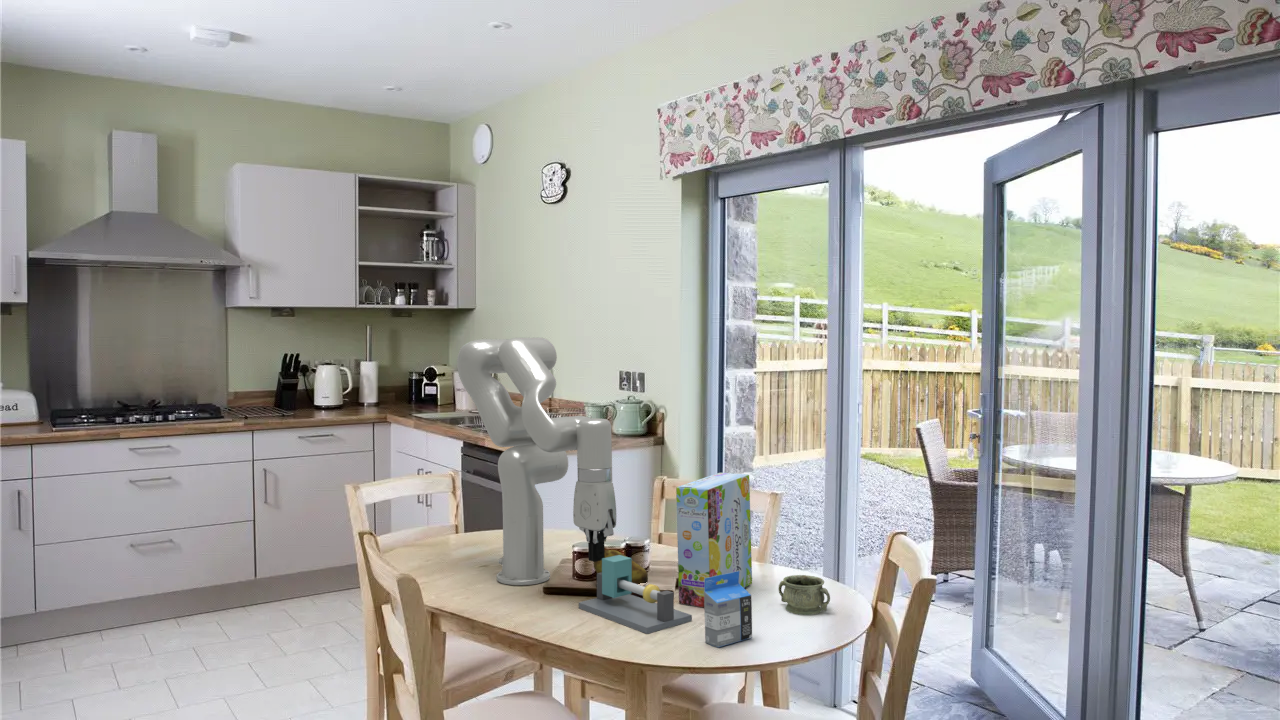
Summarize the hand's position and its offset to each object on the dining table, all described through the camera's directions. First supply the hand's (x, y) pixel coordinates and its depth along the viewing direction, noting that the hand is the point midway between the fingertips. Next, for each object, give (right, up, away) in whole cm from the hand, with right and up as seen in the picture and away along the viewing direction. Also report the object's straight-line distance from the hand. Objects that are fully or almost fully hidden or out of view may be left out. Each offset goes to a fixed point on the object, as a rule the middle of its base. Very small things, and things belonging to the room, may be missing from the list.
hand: (596, 560), depth 196 cm
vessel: (+44, -9, -6) cm, 45 cm away
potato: (+5, -9, +12) cm, 15 cm away
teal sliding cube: (+5, -6, -5) cm, 9 cm away
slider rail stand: (+8, -9, -9) cm, 15 cm away
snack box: (+26, -9, +5) cm, 28 cm away
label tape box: (+26, -10, -25) cm, 38 cm away
